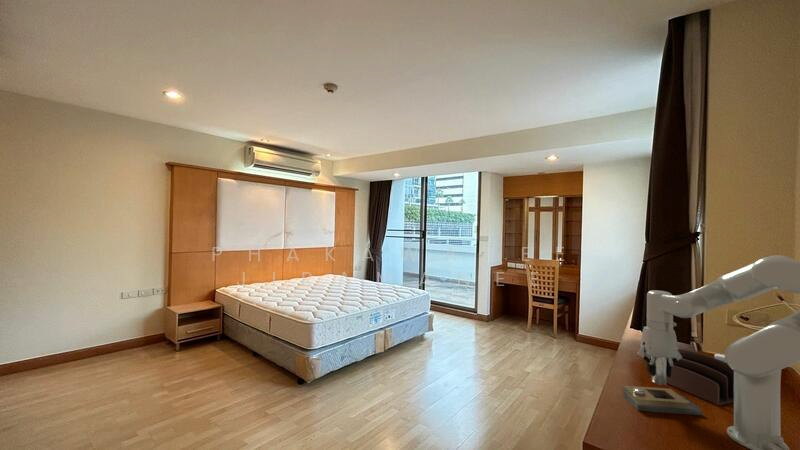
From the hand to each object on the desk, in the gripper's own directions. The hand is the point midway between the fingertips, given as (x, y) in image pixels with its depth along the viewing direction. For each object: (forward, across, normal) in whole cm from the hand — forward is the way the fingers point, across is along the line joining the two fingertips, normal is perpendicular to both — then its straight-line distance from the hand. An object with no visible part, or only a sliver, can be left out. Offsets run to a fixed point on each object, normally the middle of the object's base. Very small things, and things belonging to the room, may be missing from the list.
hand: (659, 374), depth 119 cm
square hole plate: (+11, 0, 0) cm, 11 cm away
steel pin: (+3, 0, 0) cm, 3 cm away
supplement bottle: (+11, -38, -27) cm, 48 cm away
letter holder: (+11, -21, -13) cm, 27 cm away
